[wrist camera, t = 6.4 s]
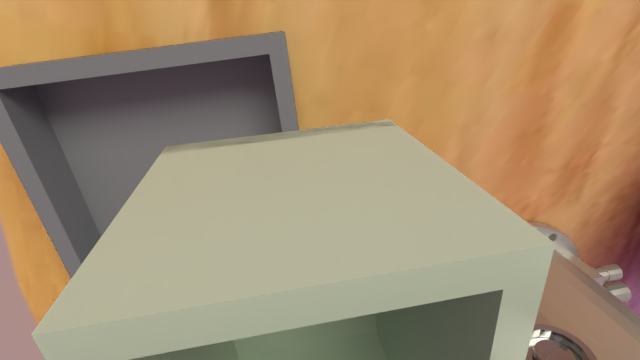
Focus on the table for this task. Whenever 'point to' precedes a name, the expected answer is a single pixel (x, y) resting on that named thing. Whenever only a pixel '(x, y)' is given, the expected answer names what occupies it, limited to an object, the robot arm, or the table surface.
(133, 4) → the table surface
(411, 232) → the small crate
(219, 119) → the big crate
